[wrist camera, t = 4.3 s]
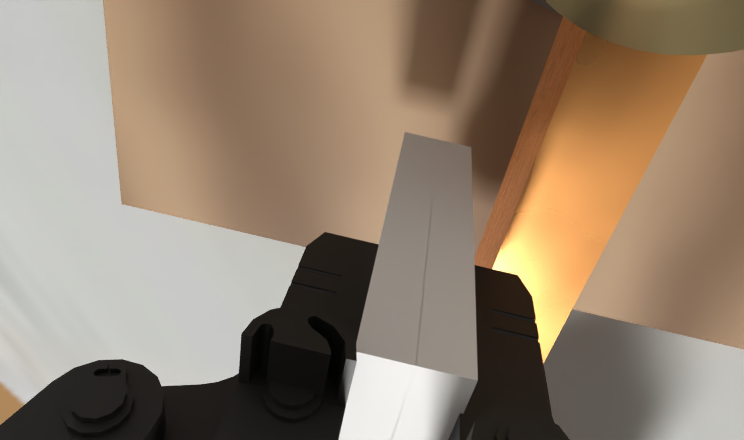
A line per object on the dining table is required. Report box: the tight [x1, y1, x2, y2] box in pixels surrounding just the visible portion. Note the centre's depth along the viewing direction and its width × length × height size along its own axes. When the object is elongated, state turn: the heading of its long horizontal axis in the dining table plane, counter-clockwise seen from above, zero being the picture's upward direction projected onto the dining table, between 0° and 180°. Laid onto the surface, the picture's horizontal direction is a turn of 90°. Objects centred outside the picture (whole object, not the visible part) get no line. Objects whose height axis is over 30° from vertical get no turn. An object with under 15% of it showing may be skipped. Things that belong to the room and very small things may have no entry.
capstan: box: [474, 0, 744, 365], centre depth 9 cm, size 21×19×6 cm
